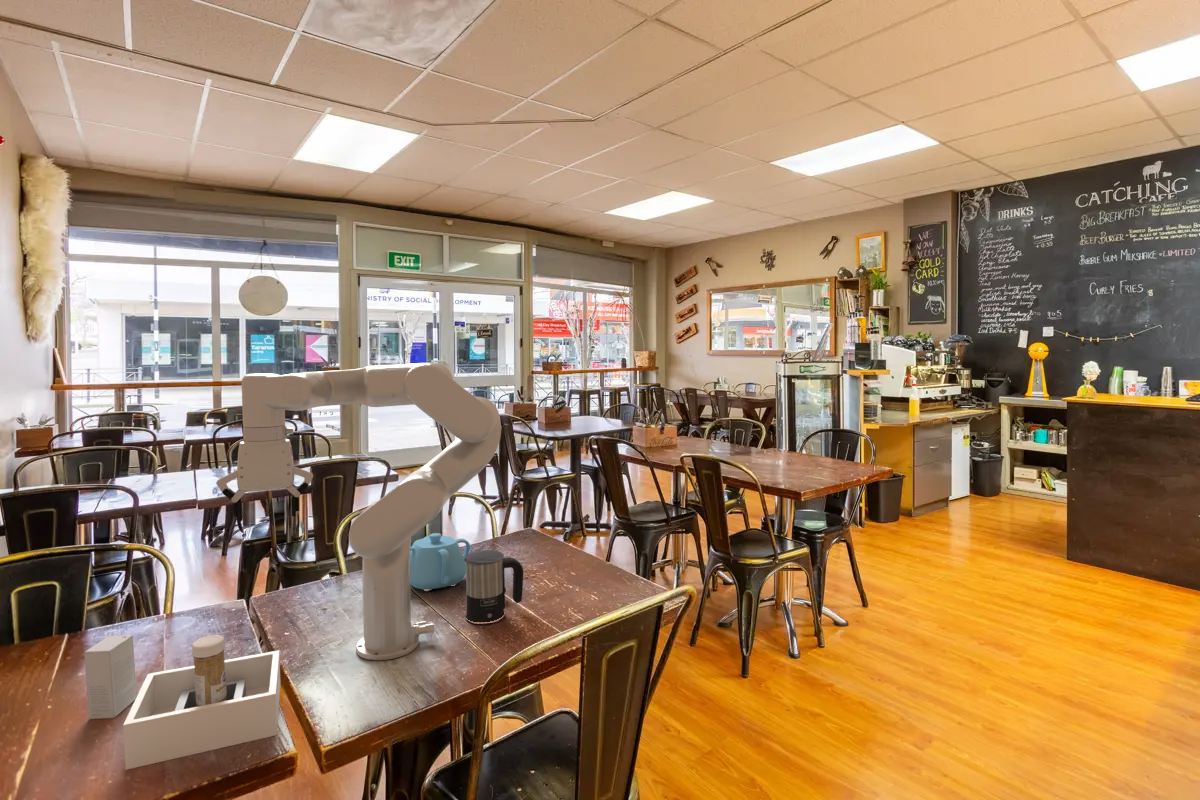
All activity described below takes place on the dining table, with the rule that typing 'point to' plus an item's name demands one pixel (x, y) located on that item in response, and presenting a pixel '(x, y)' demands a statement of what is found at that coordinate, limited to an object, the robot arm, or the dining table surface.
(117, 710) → the skincare box
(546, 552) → the dining table surface
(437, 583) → the decorative pot
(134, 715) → the divided box
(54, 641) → the dining table surface
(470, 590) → the milk frother
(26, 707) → the dining table surface
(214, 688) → the sprinkles bottle
